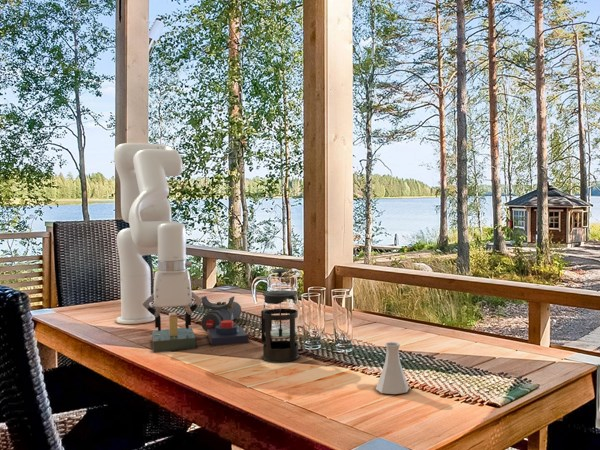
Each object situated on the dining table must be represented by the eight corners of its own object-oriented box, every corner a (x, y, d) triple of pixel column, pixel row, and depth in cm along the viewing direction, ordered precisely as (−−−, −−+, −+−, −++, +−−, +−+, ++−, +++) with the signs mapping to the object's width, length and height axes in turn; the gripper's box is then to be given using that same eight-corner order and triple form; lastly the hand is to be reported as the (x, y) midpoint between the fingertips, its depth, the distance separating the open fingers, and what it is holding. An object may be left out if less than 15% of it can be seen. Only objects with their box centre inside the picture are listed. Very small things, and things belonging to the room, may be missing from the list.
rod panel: (152, 340, 166) (152, 329, 166) (191, 337, 170) (191, 326, 170) (153, 352, 153) (153, 340, 153) (195, 348, 157) (195, 337, 157)
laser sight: (247, 318, 196) (247, 290, 195) (224, 334, 173) (224, 301, 173) (219, 318, 197) (219, 289, 196) (193, 333, 174) (193, 301, 174)
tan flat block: (169, 331, 164) (168, 311, 163) (176, 331, 164) (176, 311, 164) (170, 336, 158) (169, 315, 158) (177, 335, 159) (177, 315, 159)
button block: (207, 336, 171) (207, 323, 170) (241, 333, 174) (241, 320, 174) (212, 346, 159) (212, 331, 159) (248, 342, 163) (247, 328, 163)
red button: (220, 326, 168) (220, 320, 168) (232, 325, 169) (232, 319, 169) (221, 329, 164) (221, 323, 164) (234, 328, 166) (234, 322, 166)
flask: (374, 384, 126) (374, 340, 126) (406, 383, 127) (406, 339, 126) (377, 395, 119) (377, 348, 119) (411, 394, 120) (411, 347, 119)
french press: (308, 356, 148) (307, 269, 147) (282, 365, 141) (281, 273, 140) (276, 349, 156) (276, 266, 154) (250, 357, 148) (249, 269, 147)
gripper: (202, 263, 167) (203, 323, 168) (139, 266, 161) (140, 328, 161) (205, 266, 160) (206, 329, 161) (139, 269, 154) (140, 334, 154)
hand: (173, 328), depth 161 cm, fingers open, 6 cm apart
